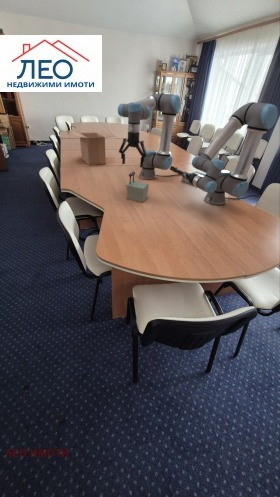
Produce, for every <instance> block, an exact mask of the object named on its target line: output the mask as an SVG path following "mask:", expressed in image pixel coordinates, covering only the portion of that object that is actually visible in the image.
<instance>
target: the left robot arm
mask: <svg viewBox="0 0 280 497" xmlns="http://www.w3.org/2000/svg"><path fill="white" fill-rule="evenodd" d="M181 108H182V100H181V97H180V96H179V94H174V93H161V92H160V93H159V92H158V93H155V94H152V95H148V96H147V97H146V98H144V99H140V100H136V101H132V102H129V103H119V105H118V107H117V114H118V116H119V117H122V118H127V138H126V137H124V138H122V143H121V145H120V147H119V149H118V153H119V154H120V156H121V157H120V158H121V159H122V163H121V164H122V165H124V164H126V151H127V150H128V149H129V148H133V149H134V148H135V149H136V150H137V151H138V152H139V155H140V156H141V157H140V162H139V163H140V164H139V168H141V169H140V172H139V178H140V179H142V180H146V181H154V180H156V178H157V177H163V178H165V177H177V176H181V175H180V174H178V173H176V174H171V175H170V174H169V175H158V174H156V169H160V170H163V171H167V170H170V168H171V166H172V164H173V156H172V153H171V151H170V150H171V142H172V137H173V136H172V135H173V129H174V128H173V127H174V124H175V123H174V122H175V118H177V117H178V116H177V115H178V114H180V112H181ZM153 111H154V112H155V111H156V112H160V113H161V116H162V124H161V132H160V140H159V141H160V142H159V149H158V150H153V149H151V150H150V149H149V150H147V149H146V147H145V146H146V145H145V142H144V140H140V130H141V121H146V120H148V119H150V117H151V116H152V112H153ZM125 145H126V146H125Z"/></svg>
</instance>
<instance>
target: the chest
mask: <svg viewBox="0 0 280 497" xmlns="http://www.w3.org/2000/svg"><path fill="white" fill-rule="evenodd" d="M148 194H149V185H148V186H147V187H146V188H145V189H144V190H142V189H137V188H133V187H128V186H126V199H127V200H129V201H134V202H138V203H144V202H145V201H146V200H147V199H148V196H149V195H148Z"/></svg>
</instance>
